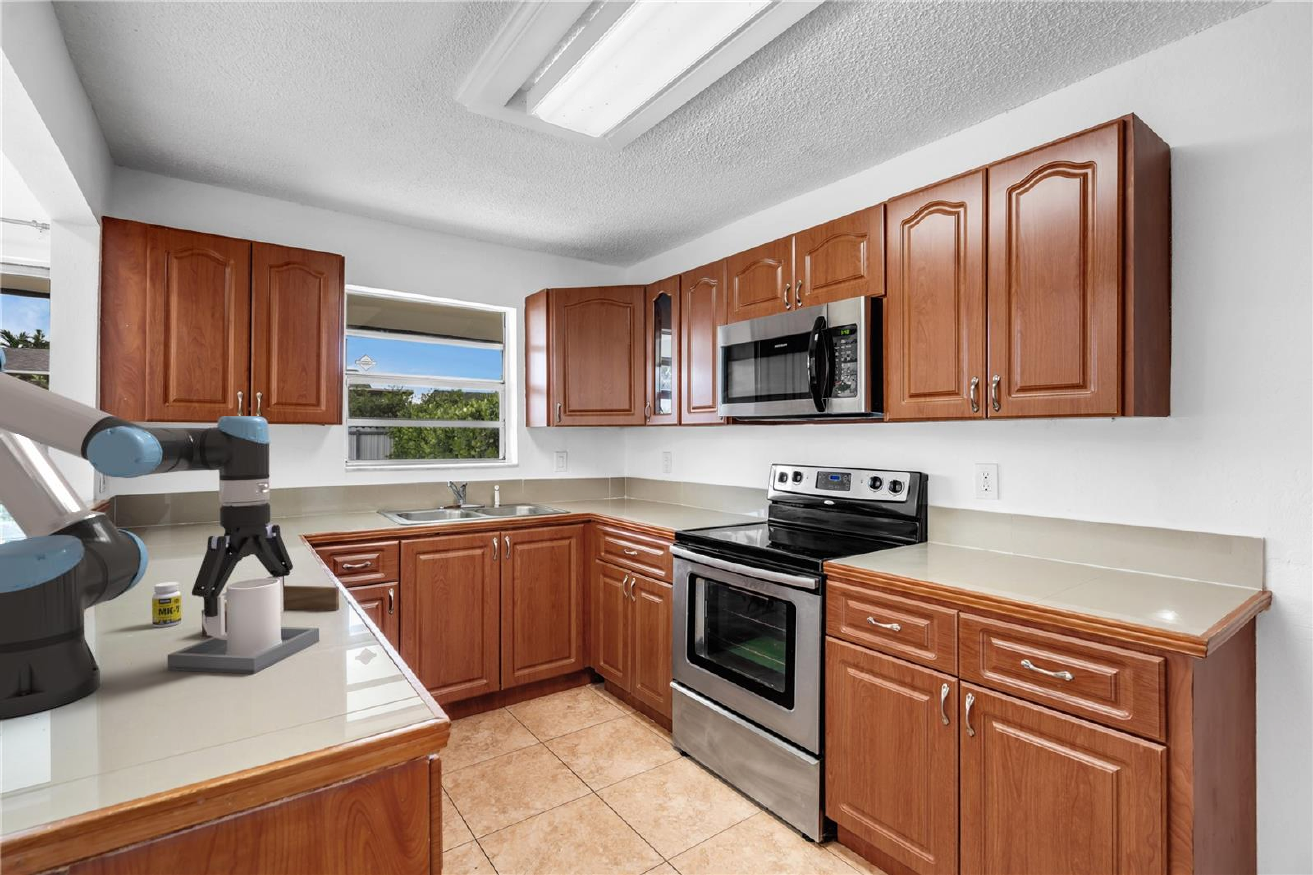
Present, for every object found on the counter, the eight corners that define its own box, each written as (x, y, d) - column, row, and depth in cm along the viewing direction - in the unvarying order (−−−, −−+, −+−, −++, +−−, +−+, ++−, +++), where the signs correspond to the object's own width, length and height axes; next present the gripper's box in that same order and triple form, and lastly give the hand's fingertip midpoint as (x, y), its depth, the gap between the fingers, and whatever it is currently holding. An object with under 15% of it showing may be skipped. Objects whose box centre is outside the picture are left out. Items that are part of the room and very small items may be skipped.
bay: (273, 638, 121) (272, 612, 121) (202, 635, 124) (201, 610, 123) (339, 609, 141) (338, 586, 141) (277, 607, 143) (276, 585, 143)
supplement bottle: (156, 629, 128) (155, 587, 128) (149, 625, 131) (148, 584, 131) (185, 623, 132) (184, 583, 132) (177, 619, 135) (176, 580, 135)
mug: (198, 665, 106) (197, 593, 106) (208, 650, 113) (207, 583, 113) (280, 654, 111) (279, 585, 111) (284, 640, 119) (283, 576, 119)
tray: (254, 673, 104) (254, 658, 104) (167, 669, 106) (167, 654, 106) (319, 641, 120) (319, 628, 120) (242, 638, 122) (242, 625, 122)
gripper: (205, 512, 100) (207, 647, 100) (312, 495, 124) (314, 603, 125) (162, 512, 101) (165, 645, 101) (277, 495, 125) (279, 602, 126)
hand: (247, 622), depth 113 cm, fingers open, 13 cm apart
